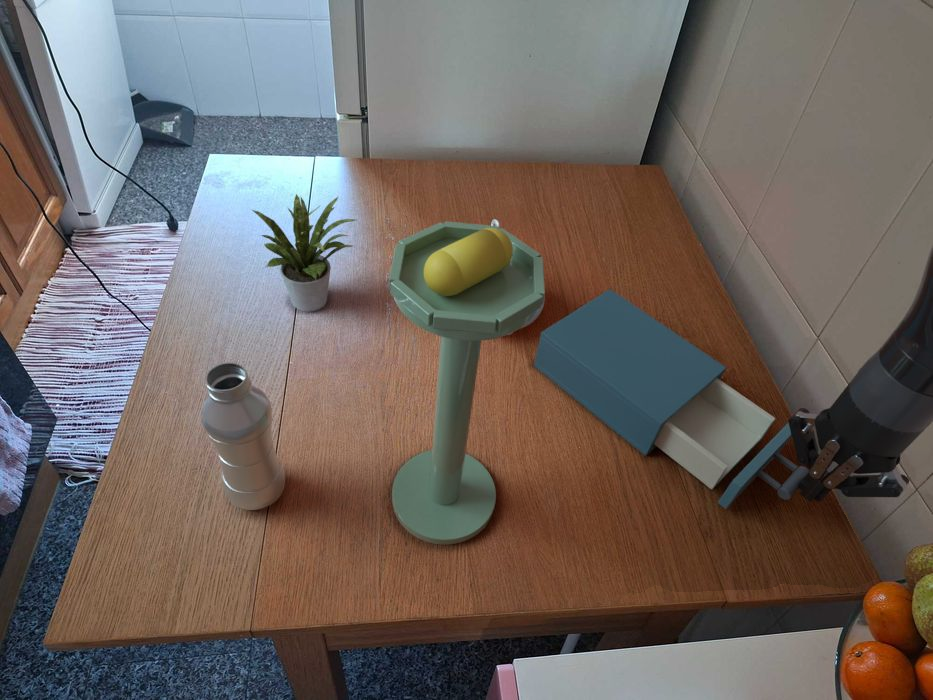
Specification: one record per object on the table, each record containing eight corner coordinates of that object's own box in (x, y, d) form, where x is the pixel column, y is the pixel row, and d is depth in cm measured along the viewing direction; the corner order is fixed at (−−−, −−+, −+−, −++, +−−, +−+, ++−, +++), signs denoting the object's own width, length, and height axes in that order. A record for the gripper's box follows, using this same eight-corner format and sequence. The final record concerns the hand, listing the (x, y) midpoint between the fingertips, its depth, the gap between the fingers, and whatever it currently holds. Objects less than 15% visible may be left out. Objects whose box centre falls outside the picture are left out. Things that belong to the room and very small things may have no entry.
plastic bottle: (228, 471, 75) (190, 354, 61) (288, 465, 77) (265, 348, 62) (225, 521, 71) (183, 407, 57) (288, 513, 72) (263, 400, 58)
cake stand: (515, 503, 76) (575, 277, 51) (438, 566, 69) (463, 343, 45) (448, 438, 81) (472, 207, 57) (371, 491, 75) (360, 257, 51)
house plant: (382, 312, 96) (381, 221, 84) (298, 350, 90) (284, 256, 78) (332, 262, 103) (325, 171, 92) (251, 293, 97) (232, 199, 85)
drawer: (812, 472, 81) (831, 449, 78) (758, 535, 74) (776, 514, 71) (663, 366, 92) (674, 342, 88) (604, 412, 85) (613, 388, 82)
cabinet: (708, 400, 89) (726, 367, 85) (645, 456, 82) (661, 423, 77) (599, 322, 99) (609, 288, 94) (533, 365, 91) (541, 331, 86)
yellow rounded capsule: (485, 238, 54) (501, 212, 51) (510, 271, 54) (528, 247, 51) (409, 275, 50) (421, 249, 47) (436, 311, 50) (450, 287, 46)
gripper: (810, 376, 64) (741, 473, 76) (946, 464, 57) (848, 554, 70) (843, 343, 68) (773, 441, 80) (975, 422, 61) (877, 515, 74)
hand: (808, 494), depth 75 cm, fingers closed
